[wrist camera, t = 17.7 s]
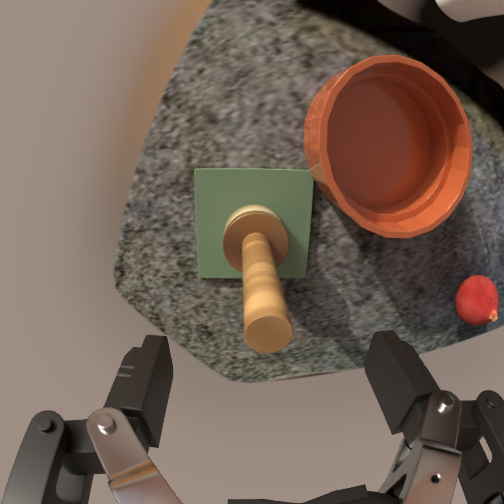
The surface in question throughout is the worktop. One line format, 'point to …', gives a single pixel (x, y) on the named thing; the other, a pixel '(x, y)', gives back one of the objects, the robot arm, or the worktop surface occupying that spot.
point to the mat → (251, 193)
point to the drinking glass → (471, 8)
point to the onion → (477, 300)
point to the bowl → (389, 146)
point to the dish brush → (260, 275)
